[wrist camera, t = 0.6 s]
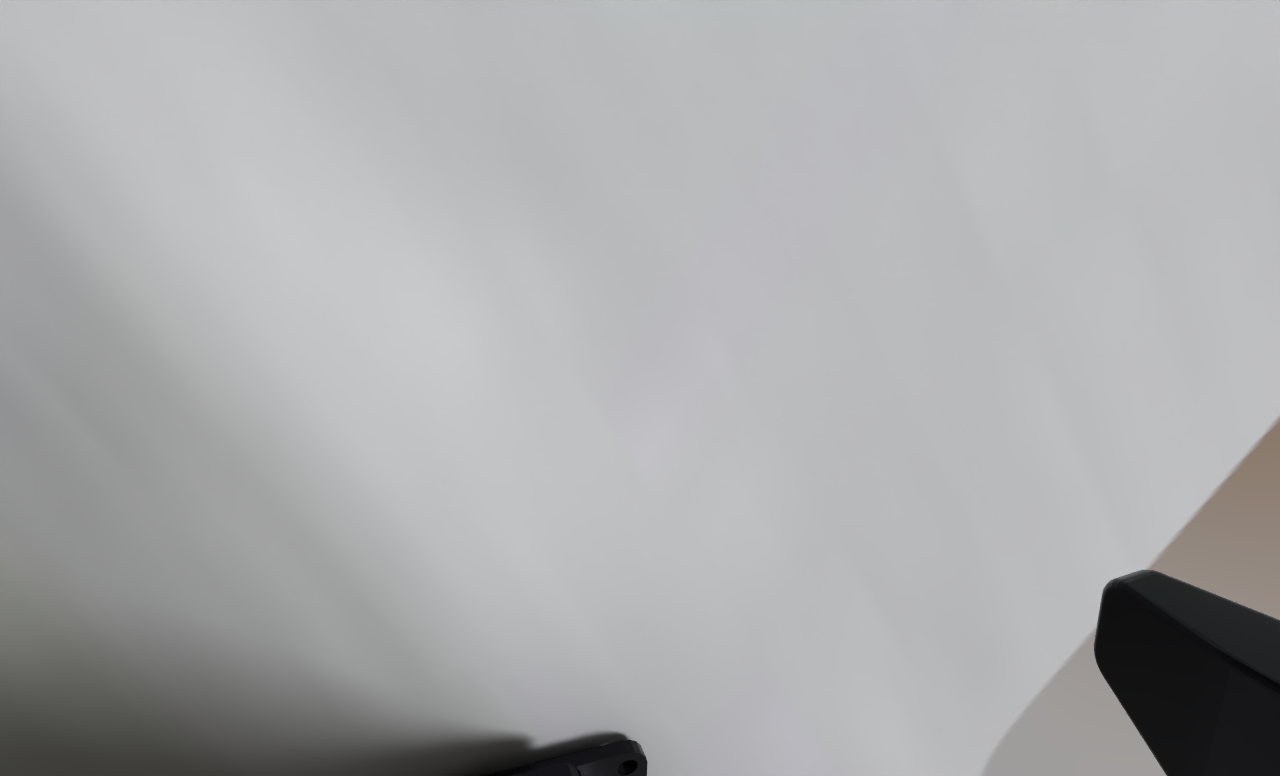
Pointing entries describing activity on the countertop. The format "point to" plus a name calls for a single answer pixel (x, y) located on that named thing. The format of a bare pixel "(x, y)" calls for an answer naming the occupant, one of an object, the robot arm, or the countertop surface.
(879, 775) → the countertop surface
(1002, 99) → the countertop surface
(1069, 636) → the countertop surface
